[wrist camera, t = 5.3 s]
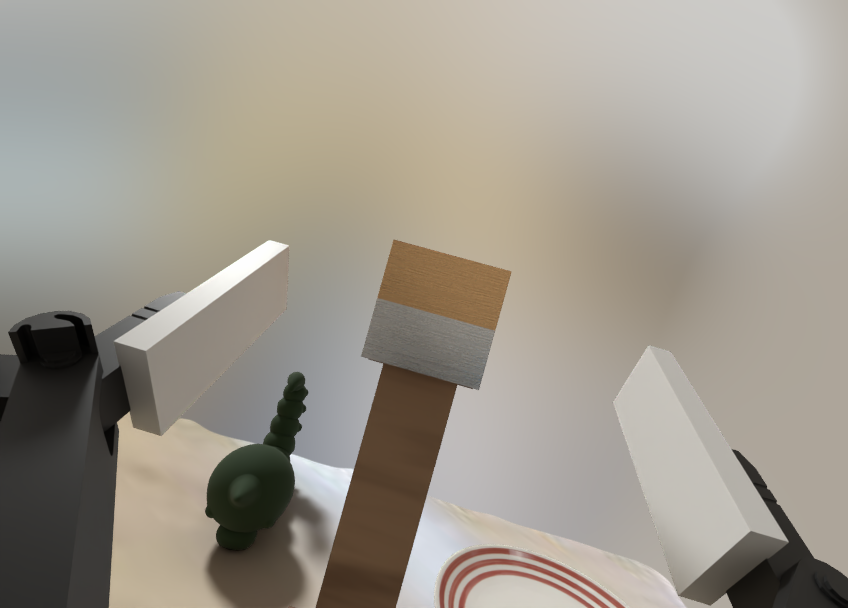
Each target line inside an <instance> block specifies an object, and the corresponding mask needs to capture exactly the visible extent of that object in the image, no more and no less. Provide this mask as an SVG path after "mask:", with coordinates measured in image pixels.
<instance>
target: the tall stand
mask: <svg viewBox="0 0 848 608" xmlns="http://www.w3.org/2000/svg"><path fill="white" fill-rule="evenodd" d="M370 360H372V359H370ZM373 361H375V360H373ZM376 362H379V361H376ZM380 363H382V362H380ZM457 385H459V384H456V383H452V382H449V381H445V380H442V379H438V378H435V377H431V376H428V375H424V374H421V373H417V372H414V371H410V370H407V369H403V368H400V367H396V366H393V365H389V364H386V363H383V368H382V371H381V375H380V378H379V382H378V386H377V389H376V393H375V396H374V400H373V403H372V407H371V411H370V414H369V418H368V421H367V425H366V429H365V432H364V436H363V440H362V443H361V447H360V450H359V454H358V458H357V461H356V465H355V468H354V472H353V475H352V479H351V482H350V486H349V490H348V493H347V497H346V500H345V504H344V508H343V511H342V515H341V518H340V522H339V526H338V529H337V533H336V536H335V540H334V543H333V547H332V551H331V554H330V558H329V561H328V565H327V569H326V572H325V576H324V579H323V583H322V587H321V590H320V594H319V597H318V601H317V604H316V608H396V604H397V601H398V597H399V593H400V590H401V586H402V583H403V579H404V575H405V572H406V568H407V565H408V561H409V557H410V554H411V550H412V547H413V543H414V539H415V536H416V532H417V529H418V525H419V521H420V518H421V514H422V510H423V507H424V503H425V500H426V496H427V492H428V489H429V485H430V482H431V478H432V474H433V471H434V467H435V464H436V460H437V456H438V453H439V449H440V445H441V442H442V438H443V434H444V431H445V427H446V424H447V420H448V417H449V413H450V409H451V406H452V402H453V398H454V395H455V391H456V388H457ZM461 386H463V385H461ZM464 387H467V386H464ZM467 388H470V387H467ZM471 389H473V388H471ZM288 608H295V607H291V606H289V607H288Z"/></svg>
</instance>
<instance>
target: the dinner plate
mask: <svg viewBox="0 0 848 608" xmlns="http://www.w3.org/2000/svg"><path fill="white" fill-rule="evenodd" d="M434 603H435V608H630V607H629V606H628V605H627V604H626V603H624V602H623V601H622V600H621V599H620V598H618V597H617V596H616V595H614V594H613V593H612V592H610V591H609V590H608V589H606V588H605V587H603V586H602V585H601V584H599V583H597V582H596V581H594V580H593V579H591V578H590V577H588V576H586V575H585V574H583V573H581V572H579V571H578V570H576V569H574V568H572V567H570V566H568V565H566V564H564V563H562V562H560V561H557V560H555V559H553V558H550V557H548V556H545V555H542V554H540V553H537V552H534V551H530V550H527V549H523V548H519V547H514V546H508V545H498V544H484V545H476V546H471V547H467V548H464V549H462V550H460V551H458V552H456V553H454V554H453V555H452V556H451V557H449V558H448V559H447V560H446V562H445V563H444V564H443V566H442V567H441V569H440V571H439V573H438V576H437V579H436V583H435V590H434Z"/></svg>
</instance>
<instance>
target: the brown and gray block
mask: <svg viewBox="0 0 848 608" xmlns="http://www.w3.org/2000/svg"><path fill="white" fill-rule="evenodd" d="M510 275H511V271H507V270H504V269H500V268H496V267H493V266H489V265H485V264H481V263H478V262H474V261H471V260H467V259H463V258H460V257H456V256H452V255H449V254H445V253H441V252H437V251H434V250H430V249H426V248H423V247H419V246H415V245H412V244H408V243H404V242H401V241H397V240H393V244H392V248H391V252H390V255H389V258H388V262H387V266H386V269H385V273H384V276H383V280H382V284H381V287H380V291H379V294H378V298H377V301H376V305H375V309H374V312H373V316H372V319H371V323H370V326H369V330H368V334H367V337H366V341H365V345H364V348H363V352H362V355H361V356H362V357H365V358H368V359H372V360H375V361H379V362H382V363H386V364H389V365H393V366H396V367H400V368H403V369H407V370H410V371H414V372H417V373H421V374H424V375H428V376H431V377H435V378H438V379H442V380H445V381H449V382H452V383H456V384H459V385H463V386H467V387H470V388H474V389H478V390H479V387H480V384H481V380H482V376H483V373H484V369H485V366H486V362H487V358H488V355H489V351H490V348H491V344H492V340H493V337H494V333H495V329H496V326H497V322H498V318H499V315H500V311H501V308H502V304H503V301H504V297H505V293H506V290H507V286H508V282H509V279H510Z"/></svg>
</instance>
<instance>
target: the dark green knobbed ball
mask: <svg viewBox="0 0 848 608" xmlns="http://www.w3.org/2000/svg"><path fill="white" fill-rule="evenodd" d="M304 384H305V378H304V376H303V374H302V373H300V372H294V373H292V374H291V375H290V376H289V378H288V385H287V386H286V387H285V389H284V392H283V396H284V398H283V399H281V400H280V401H279V402H278V406H277V413H278V415H276V416H275V417H274V418H273V420H272V421H271V426H270V431H271V432H270V433H268V434H267V435H266V437H265V439H264V442H263V444H252V445H247V446H244V447H241V448H239V449H237V450H235V451H233V452H231V453H230V454H229V455H227V456H226V457H225V458H224V459H223V460H222V461H221V462H220V463H219V464H218V465H217V467H216V468H215V469H214V471H213V473H212V475H211V477H210V479H209V483H208V488H207V507H206V510H205V513H206V515H207V517H209V518H214V520H215V521H216V522H218V523H219V524H220V526H219V528H218V530H217V533H216V539H217V542H218V543H219V545H221V546H222V547H224V548H227V549H232V550H243V549H246V548H248V547H250V546H251V545H252V544H253V542H254V541H255V538H256V535H257V530H260V529H263V528H270V527H272V526H273V525H274V523H275V521H276V520H277V519H278V518H279V517H280V516H281V515H282V513H283V512H284V510H285V509H286V507H287V505H288V504H289V502H290V500H291V498H292V495H293V491H294V485H295V477H294V471H293V468H292V465H291V463H290V455H291V453H292V452H293V451H294V448H295V438H294V436H295V435H296V434H297V432H299V431H300V430H301V428H302V425H301V424H300V423H299V420H298V418H299V417H300V416H301V414H302V413H304V412H305V411H306V406H305V405H304V404H303V402H302V401H303V400H304V399H305V397H306V396H307V395H308V390H307V389H306V388H305V386H304Z"/></svg>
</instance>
